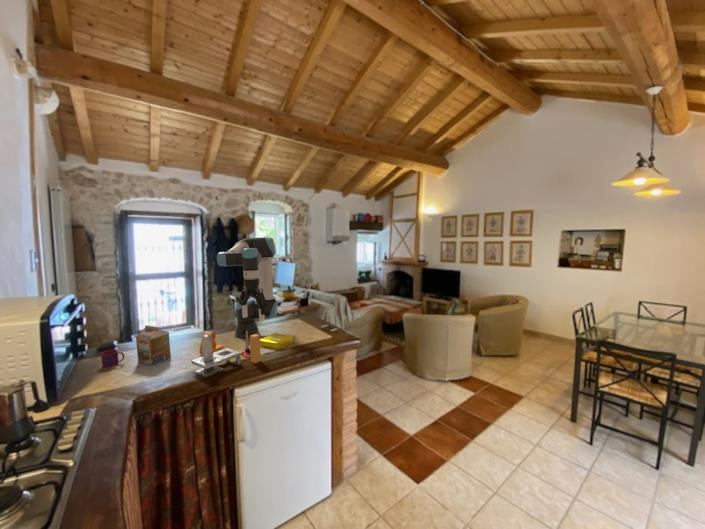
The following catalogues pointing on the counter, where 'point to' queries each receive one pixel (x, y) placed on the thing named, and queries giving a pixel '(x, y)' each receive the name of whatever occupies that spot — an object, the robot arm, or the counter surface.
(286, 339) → the element tile
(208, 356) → the windowed plate knob
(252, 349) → the wedge pin
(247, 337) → the tow hook
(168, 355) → the milk carton
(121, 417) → the counter surface
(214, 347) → the bracket
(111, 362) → the mug
